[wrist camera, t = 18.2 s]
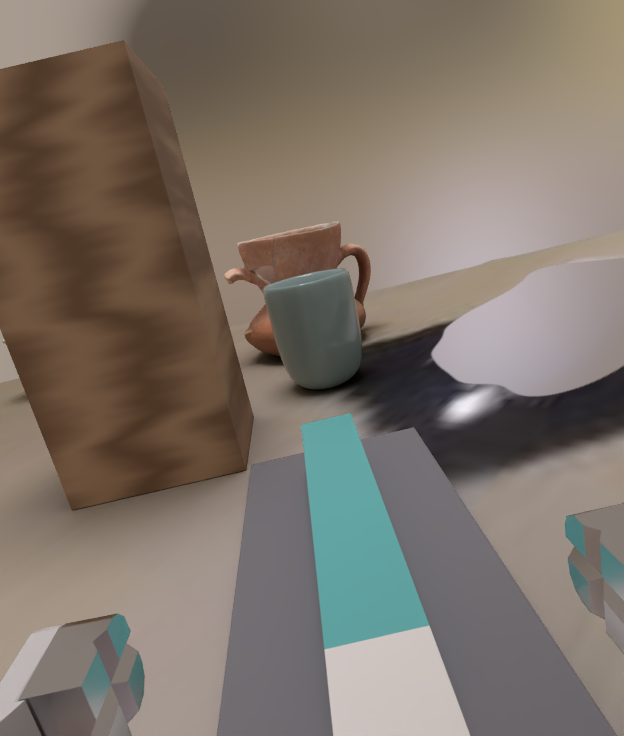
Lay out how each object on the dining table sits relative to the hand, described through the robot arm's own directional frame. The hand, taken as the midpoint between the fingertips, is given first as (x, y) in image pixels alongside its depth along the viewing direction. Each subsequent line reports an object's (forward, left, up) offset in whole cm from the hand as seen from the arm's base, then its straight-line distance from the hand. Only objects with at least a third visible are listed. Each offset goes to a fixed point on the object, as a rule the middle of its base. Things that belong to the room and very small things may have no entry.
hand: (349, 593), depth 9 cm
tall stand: (+12, -29, -8) cm, 32 cm away
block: (0, -10, -8) cm, 13 cm away
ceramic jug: (-1, -55, -9) cm, 56 cm away
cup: (-1, -39, -8) cm, 40 cm away
